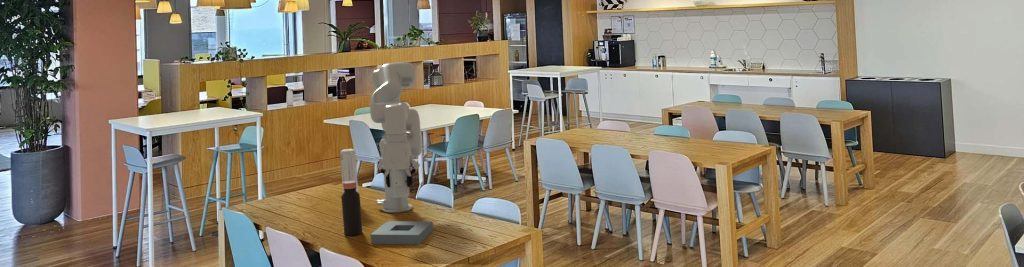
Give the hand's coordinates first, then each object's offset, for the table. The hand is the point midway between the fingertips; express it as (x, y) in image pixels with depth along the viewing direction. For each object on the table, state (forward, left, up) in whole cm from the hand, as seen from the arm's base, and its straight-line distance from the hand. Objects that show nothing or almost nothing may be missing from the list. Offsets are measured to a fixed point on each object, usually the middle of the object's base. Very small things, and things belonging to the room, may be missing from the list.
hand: (399, 186), depth 282 cm
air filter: (-39, +47, -19) cm, 64 cm away
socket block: (0, 0, -19) cm, 19 cm away
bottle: (-21, +4, -19) cm, 29 cm away
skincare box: (0, 0, -4) cm, 4 cm away
